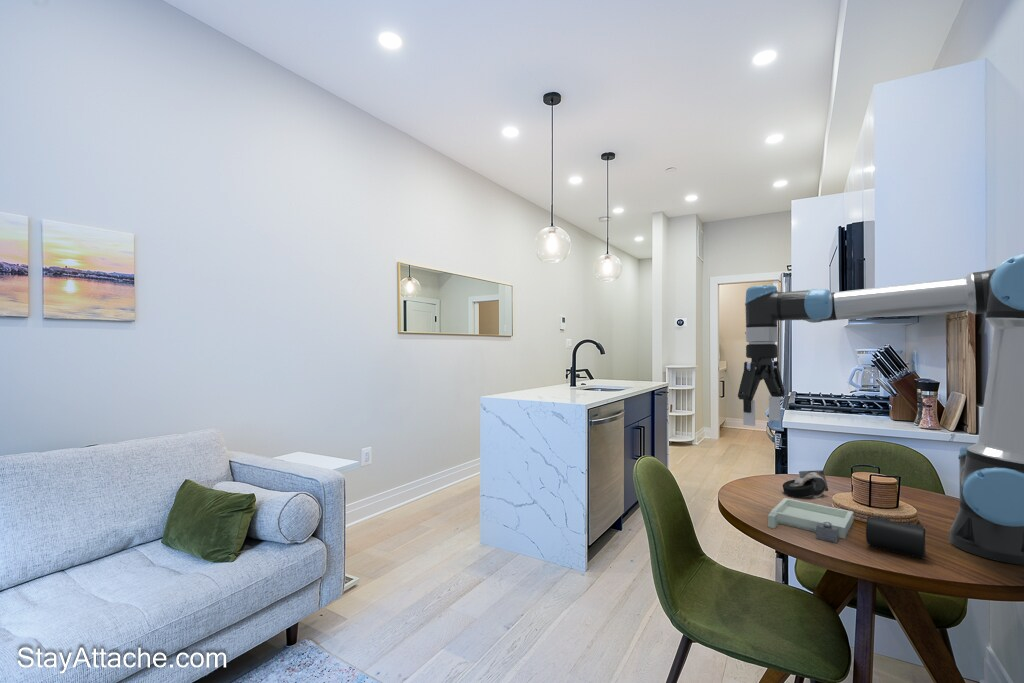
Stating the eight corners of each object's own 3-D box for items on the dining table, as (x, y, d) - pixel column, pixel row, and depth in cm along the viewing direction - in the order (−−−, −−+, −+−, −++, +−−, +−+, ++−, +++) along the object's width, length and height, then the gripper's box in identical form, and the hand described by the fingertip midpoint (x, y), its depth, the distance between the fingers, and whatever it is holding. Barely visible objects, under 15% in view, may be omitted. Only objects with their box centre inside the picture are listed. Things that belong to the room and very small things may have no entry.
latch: (838, 539, 112) (838, 523, 112) (836, 543, 110) (836, 527, 110) (818, 534, 115) (818, 519, 115) (816, 538, 112) (816, 522, 112)
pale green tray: (853, 521, 123) (853, 510, 123) (841, 544, 109) (841, 531, 109) (784, 507, 134) (784, 496, 134) (765, 526, 120) (765, 514, 120)
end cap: (865, 550, 107) (865, 520, 107) (870, 540, 112) (870, 512, 112) (924, 564, 100) (924, 532, 100) (926, 553, 105) (926, 523, 105)
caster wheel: (784, 504, 144) (787, 491, 152) (828, 504, 138) (828, 490, 146) (779, 483, 144) (782, 471, 152) (822, 481, 138) (823, 469, 146)
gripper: (770, 343, 137) (770, 416, 137) (722, 343, 122) (723, 425, 122) (797, 343, 131) (798, 420, 130) (751, 343, 116) (752, 429, 116)
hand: (762, 422), depth 126 cm, fingers open, 13 cm apart
